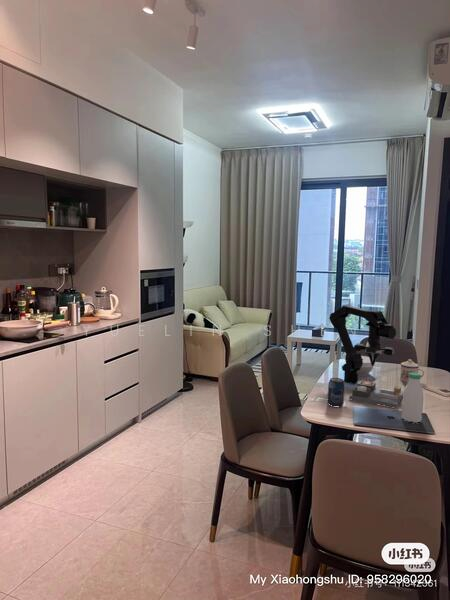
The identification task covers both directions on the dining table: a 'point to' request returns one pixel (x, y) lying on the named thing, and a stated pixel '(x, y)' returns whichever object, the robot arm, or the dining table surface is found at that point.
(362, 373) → the bowl
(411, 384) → the milk bottle
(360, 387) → the button grey
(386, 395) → the control panel
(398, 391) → the upright wooden block
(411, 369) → the teacup with lid
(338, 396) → the soda can
